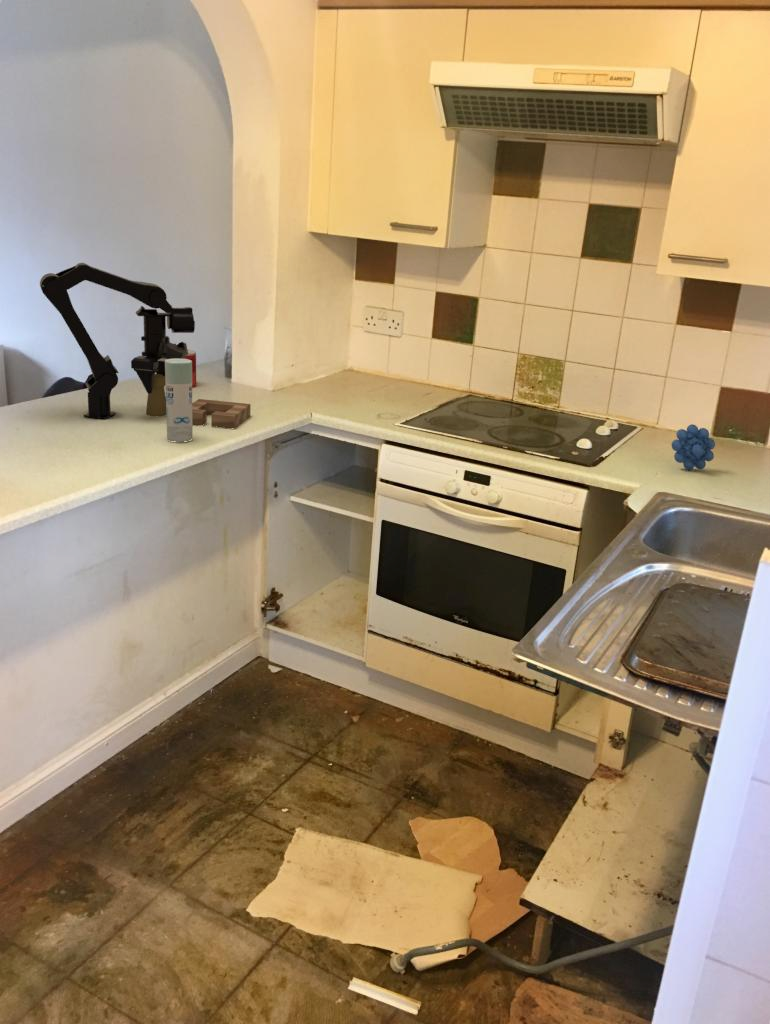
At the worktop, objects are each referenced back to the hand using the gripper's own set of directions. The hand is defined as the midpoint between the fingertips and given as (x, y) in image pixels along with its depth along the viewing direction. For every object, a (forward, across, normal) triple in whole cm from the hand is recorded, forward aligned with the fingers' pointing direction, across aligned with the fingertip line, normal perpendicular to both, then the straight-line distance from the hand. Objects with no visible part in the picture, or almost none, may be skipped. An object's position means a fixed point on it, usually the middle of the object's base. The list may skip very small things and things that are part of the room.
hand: (156, 389), depth 239 cm
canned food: (+7, +36, +6) cm, 37 cm away
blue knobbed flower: (+6, -2, -144) cm, 144 cm away
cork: (+7, 0, 0) cm, 7 cm away
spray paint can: (+7, -22, -15) cm, 28 cm away
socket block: (+7, 0, -17) cm, 18 cm away
